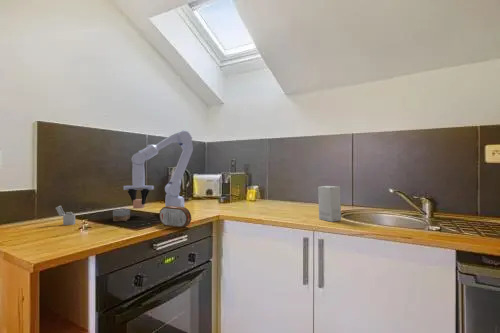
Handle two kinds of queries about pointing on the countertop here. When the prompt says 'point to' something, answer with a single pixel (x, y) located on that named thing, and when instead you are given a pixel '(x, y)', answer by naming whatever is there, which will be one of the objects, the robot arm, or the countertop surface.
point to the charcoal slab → (121, 212)
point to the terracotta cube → (138, 203)
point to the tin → (175, 216)
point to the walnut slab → (121, 218)
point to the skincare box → (329, 203)
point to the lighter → (66, 216)
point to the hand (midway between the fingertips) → (138, 204)
